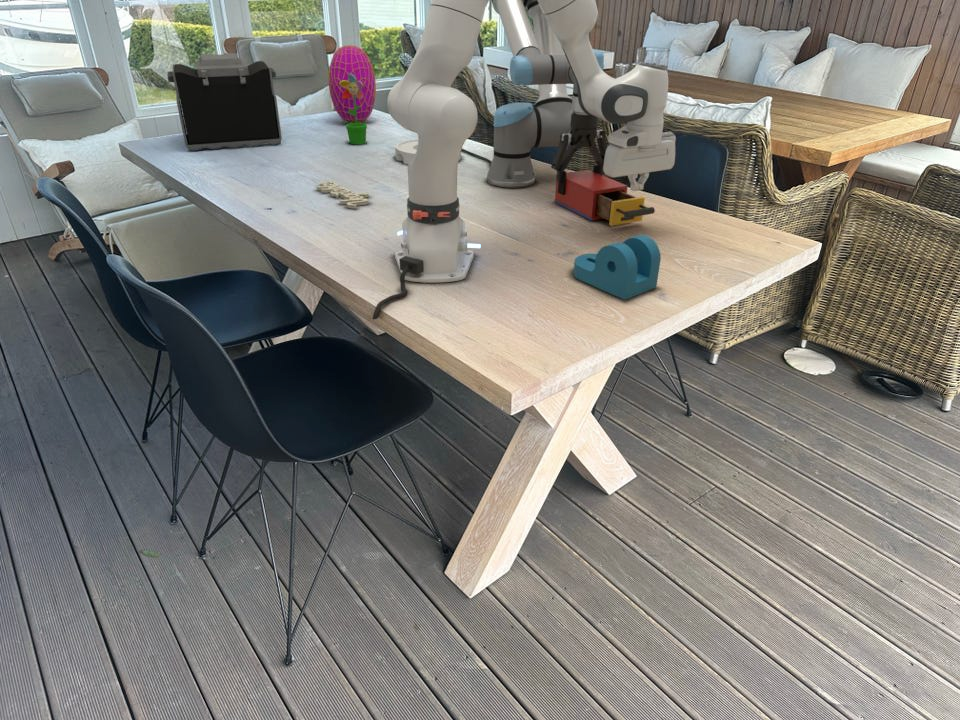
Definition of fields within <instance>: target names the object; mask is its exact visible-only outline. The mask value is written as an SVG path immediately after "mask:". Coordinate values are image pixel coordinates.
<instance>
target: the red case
mask: <svg viewBox="0 0 960 720" xmlns="http://www.w3.org/2000/svg"><path fill="white" fill-rule="evenodd" d="M556 179H557V173H556V175H555V192H554V203H555V204H557V205H559V206H561V207H563V208H564V209H567V210H569V211H571V212H573V213H575V214H576V215H579V216H580V217H583V218H585V219H587V220H588V221H591V222H593V221H598V220H604V218H602V217H600V216H598V215H596V214H595V209H596V198H597V194H601V193H608V192H614V191H623V192H625V193H628V185H627V184H624V183H622V182H619V181H617V180H615V179H612V178H611V177H610V178H609V177H608V176H604V175H603V174H602V175H600V174H597V173H595V172H593V170H590V169H585V170H578V171H577V170H576V171H569V172H567V174H566V187H565V195H562V194H560V193H558V182H557V181H556Z"/></svg>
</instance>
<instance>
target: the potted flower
mask: <svg viewBox="0 0 960 720" xmlns="http://www.w3.org/2000/svg"><path fill="white" fill-rule="evenodd" d="M348 78H349V81H346V80H342V81H341V82H340V83H339V84H340V85H341V86H342V87H343V88H346V89H347V90H345V91H344V93H343V94H342V97H341V99H348V98H350V97H351V96H352V95H353V100H354V110H349V111H348V112H349V114H351V115H355V123H349V122H348V123H347V124H346V125H345V128H346V131H347V136H348V141H349V144H352V145H363V144H366V143H367V129H368V124H367V123H366V122H365V123H364V122H361V123H357V116H356V110H358V109H359V106H356V103H355V95H356V97H357V98H358V99H359V100H362V98H363V93H362V92H361V91H360V90H361V89H363V84H362V82H361V81H358V82H357V83H356V78H355V76H354V75H352V74H350V73H348Z"/></svg>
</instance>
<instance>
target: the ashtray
mask: <svg viewBox="0 0 960 720" xmlns="http://www.w3.org/2000/svg"><path fill="white" fill-rule="evenodd" d="M417 146H418V138H416V139H415V138H414V139H408V140H404V141H399V142H398V143H396V144H395V146H394V150H395V151H394V152H395V153H394V154H395V160H396V161H397V162H403V164H404V165H408V164H409V162H410V161H411V159H412V158H414V157H415V154H416V151H417ZM461 158H462V152H461V153H460V156H459V161H460V160H462V159H461Z"/></svg>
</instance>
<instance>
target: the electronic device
mask: <svg viewBox="0 0 960 720" xmlns="http://www.w3.org/2000/svg"><path fill="white" fill-rule="evenodd" d="M195 67H196V68H193V67H192V66H187V65H185V64H182V63H176V64H175V63H173V64H172V70H171V71H167V72H166V73H167V74H166V75H167V81H168V83H173V84H174V90H175V94H176V96H175V97H176V98H175V99H176V106H177V111H178V116H179V121H180V126H181V130H182V134H183V136H182V137H183V141H184V145H185V147H186V149H187V150H188V151H192V152H197V151H199V152H200V151H201V150H203V149H210V150H219V149H221V148H225V147H227V148H230V149H237V148H241V147H243V146H249V147H260V146H261V145H269V146H278V145H279V144H281V143H282V138H283V137H282V130H281V122H280V115H279V108H278V99H277V96H276V94H275V88H274V81H273V80H274V78H277V72H276V70H275V69H274V68H273V67H270V66H268V64H267V63H266V62H265V61H264V60H259V61H257V60H256V61H254V62H253V63H251V64H249V65H247V63H246V62H245V61H244V59H241V58H240V57H239V56H238V54H237V53H236V52H228V53H227V52H225V53H223V54H214V53H200V55H199V59H198V60H196V61H195Z"/></svg>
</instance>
